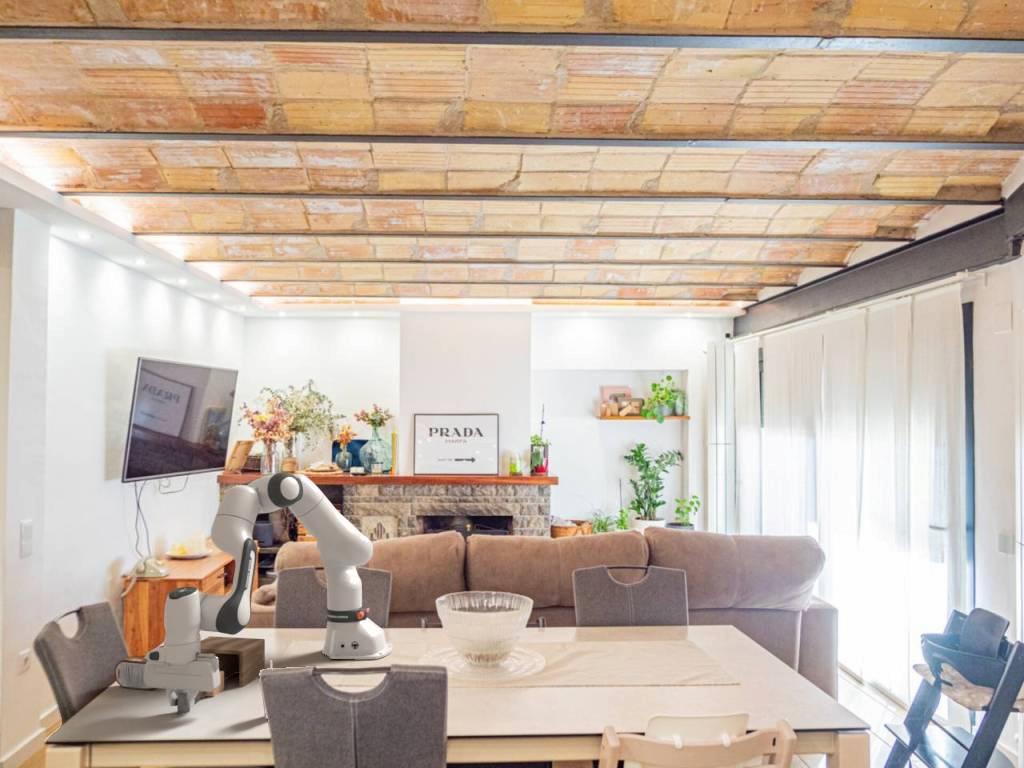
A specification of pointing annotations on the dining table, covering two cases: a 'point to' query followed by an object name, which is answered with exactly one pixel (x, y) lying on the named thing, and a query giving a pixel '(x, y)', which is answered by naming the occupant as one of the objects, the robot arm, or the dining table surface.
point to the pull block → (185, 695)
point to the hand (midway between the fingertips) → (182, 705)
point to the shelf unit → (237, 656)
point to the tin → (131, 673)
